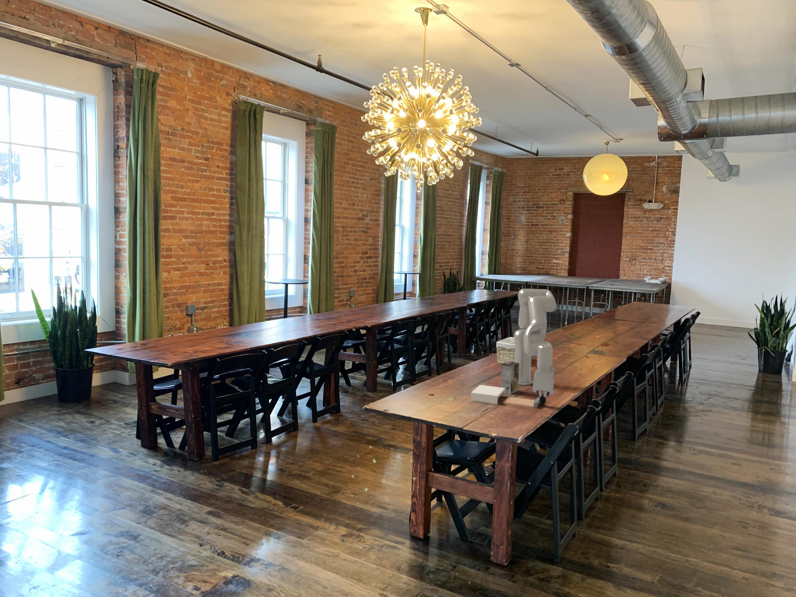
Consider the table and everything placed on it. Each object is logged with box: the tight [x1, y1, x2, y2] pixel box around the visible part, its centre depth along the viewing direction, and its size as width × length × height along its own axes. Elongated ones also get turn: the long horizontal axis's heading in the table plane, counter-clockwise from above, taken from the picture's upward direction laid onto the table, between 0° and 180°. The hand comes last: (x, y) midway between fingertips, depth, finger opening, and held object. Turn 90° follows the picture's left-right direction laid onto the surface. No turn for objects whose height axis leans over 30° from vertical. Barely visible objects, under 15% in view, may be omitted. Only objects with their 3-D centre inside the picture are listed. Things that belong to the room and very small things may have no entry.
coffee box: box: [500, 361, 519, 395], centre depth 322 cm, size 9×6×16 cm
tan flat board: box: [502, 396, 541, 409], centre depth 301 cm, size 11×17×3 cm, turn 66°
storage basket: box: [496, 336, 515, 364], centre depth 399 cm, size 24×16×15 cm
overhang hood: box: [470, 384, 506, 405], centre depth 309 cm, size 17×14×4 cm
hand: (542, 403), depth 297 cm, fingers closed
